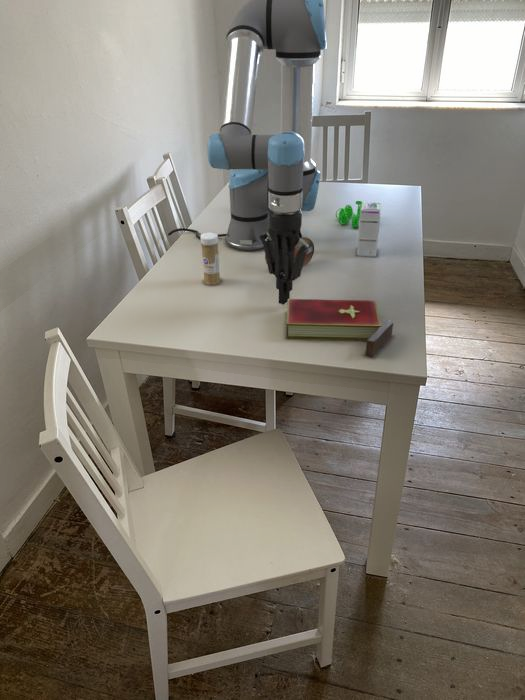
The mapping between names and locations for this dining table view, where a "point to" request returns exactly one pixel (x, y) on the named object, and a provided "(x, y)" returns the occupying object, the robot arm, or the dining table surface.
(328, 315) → the hardcover book
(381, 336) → the bar
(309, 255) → the tin
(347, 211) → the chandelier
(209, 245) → the sprinkles bottle
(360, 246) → the syrup box
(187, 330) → the dining table surface
